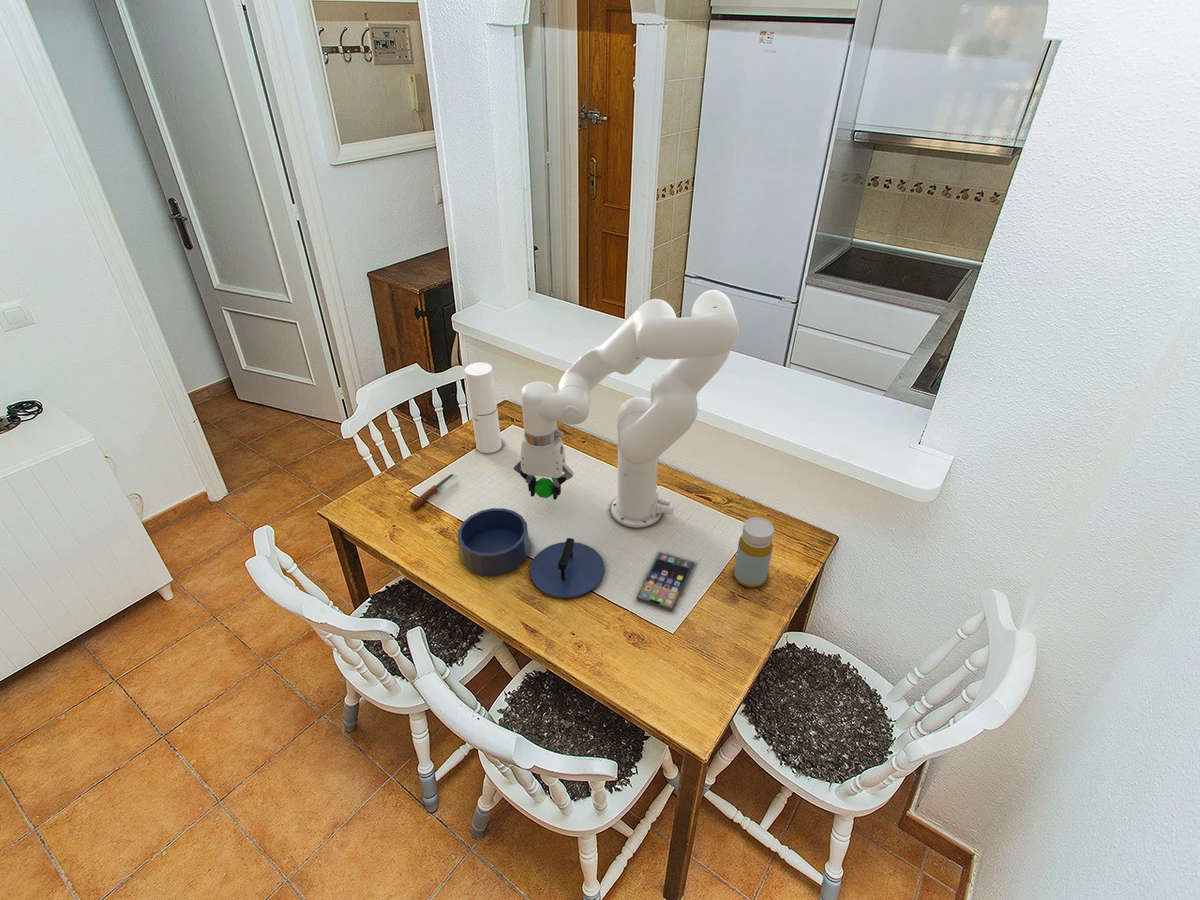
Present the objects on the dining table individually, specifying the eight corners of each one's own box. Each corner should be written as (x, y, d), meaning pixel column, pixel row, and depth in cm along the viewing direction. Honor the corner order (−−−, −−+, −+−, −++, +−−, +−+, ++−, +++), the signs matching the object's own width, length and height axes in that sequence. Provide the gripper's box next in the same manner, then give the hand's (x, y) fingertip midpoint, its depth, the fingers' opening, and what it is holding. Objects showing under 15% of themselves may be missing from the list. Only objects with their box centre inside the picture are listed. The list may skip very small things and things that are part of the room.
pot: (537, 532, 152) (535, 512, 148) (517, 581, 140) (514, 560, 136) (476, 524, 155) (472, 504, 151) (451, 571, 142) (446, 550, 139)
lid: (610, 550, 147) (610, 530, 143) (596, 605, 134) (595, 584, 130) (542, 540, 150) (540, 520, 146) (520, 593, 137) (518, 573, 133)
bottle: (759, 593, 136) (769, 543, 127) (728, 581, 139) (736, 531, 130) (770, 573, 141) (780, 523, 132) (740, 561, 144) (749, 511, 135)
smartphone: (693, 564, 143) (693, 560, 142) (672, 612, 132) (672, 609, 131) (659, 554, 146) (660, 550, 145) (636, 601, 135) (636, 597, 134)
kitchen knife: (414, 511, 159) (413, 505, 158) (410, 510, 159) (409, 504, 158) (456, 478, 170) (455, 472, 169) (452, 476, 170) (451, 470, 169)
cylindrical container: (496, 454, 178) (486, 376, 164) (472, 451, 179) (460, 374, 165) (505, 440, 184) (495, 363, 169) (481, 437, 185) (470, 361, 170)
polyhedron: (559, 496, 155) (558, 481, 152) (541, 504, 153) (540, 489, 150) (548, 486, 158) (547, 471, 156) (531, 493, 156) (530, 478, 153)
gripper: (580, 428, 146) (582, 489, 157) (510, 420, 149) (516, 480, 160) (573, 447, 140) (575, 509, 151) (500, 438, 143) (507, 499, 154)
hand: (545, 494), depth 155 cm, fingers closed on polyhedron, 5 cm apart
